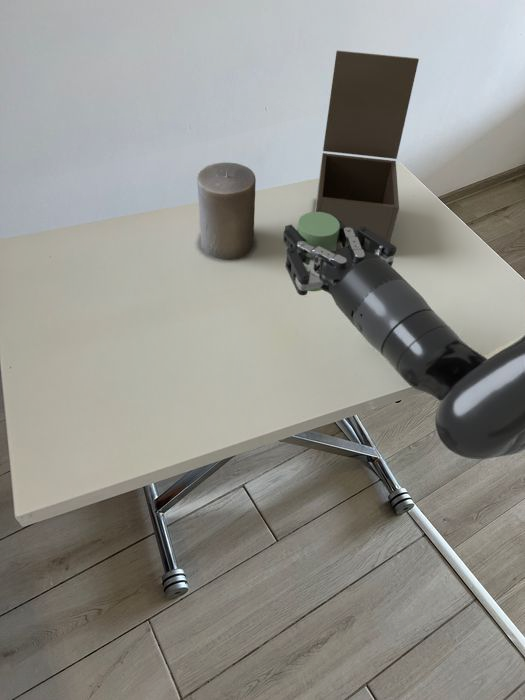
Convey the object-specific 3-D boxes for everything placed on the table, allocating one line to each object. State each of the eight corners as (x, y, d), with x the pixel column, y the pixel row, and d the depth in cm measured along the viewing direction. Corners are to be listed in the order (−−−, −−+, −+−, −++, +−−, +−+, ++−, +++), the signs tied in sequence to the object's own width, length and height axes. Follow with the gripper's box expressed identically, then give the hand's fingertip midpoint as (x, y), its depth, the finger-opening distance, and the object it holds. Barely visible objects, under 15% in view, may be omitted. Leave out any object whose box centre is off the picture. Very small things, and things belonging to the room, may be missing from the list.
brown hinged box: (385, 259, 96) (399, 208, 88) (310, 250, 97) (317, 198, 89) (383, 210, 106) (395, 160, 98) (315, 203, 107) (322, 152, 99)
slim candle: (330, 268, 74) (340, 213, 67) (329, 293, 71) (339, 238, 64) (293, 264, 74) (299, 209, 68) (290, 289, 71) (296, 233, 64)
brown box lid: (418, 59, 87) (418, 58, 88) (336, 51, 88) (336, 50, 89) (396, 159, 97) (396, 157, 98) (322, 151, 98) (323, 149, 99)
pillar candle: (264, 245, 97) (269, 170, 86) (226, 269, 92) (225, 193, 81) (227, 222, 101) (227, 148, 90) (188, 244, 96) (183, 168, 85)
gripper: (443, 264, 59) (357, 187, 68) (334, 302, 54) (258, 214, 64) (425, 312, 64) (347, 235, 74) (325, 351, 59) (256, 263, 69)
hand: (306, 225), depth 69 cm, fingers closed on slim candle, 5 cm apart
